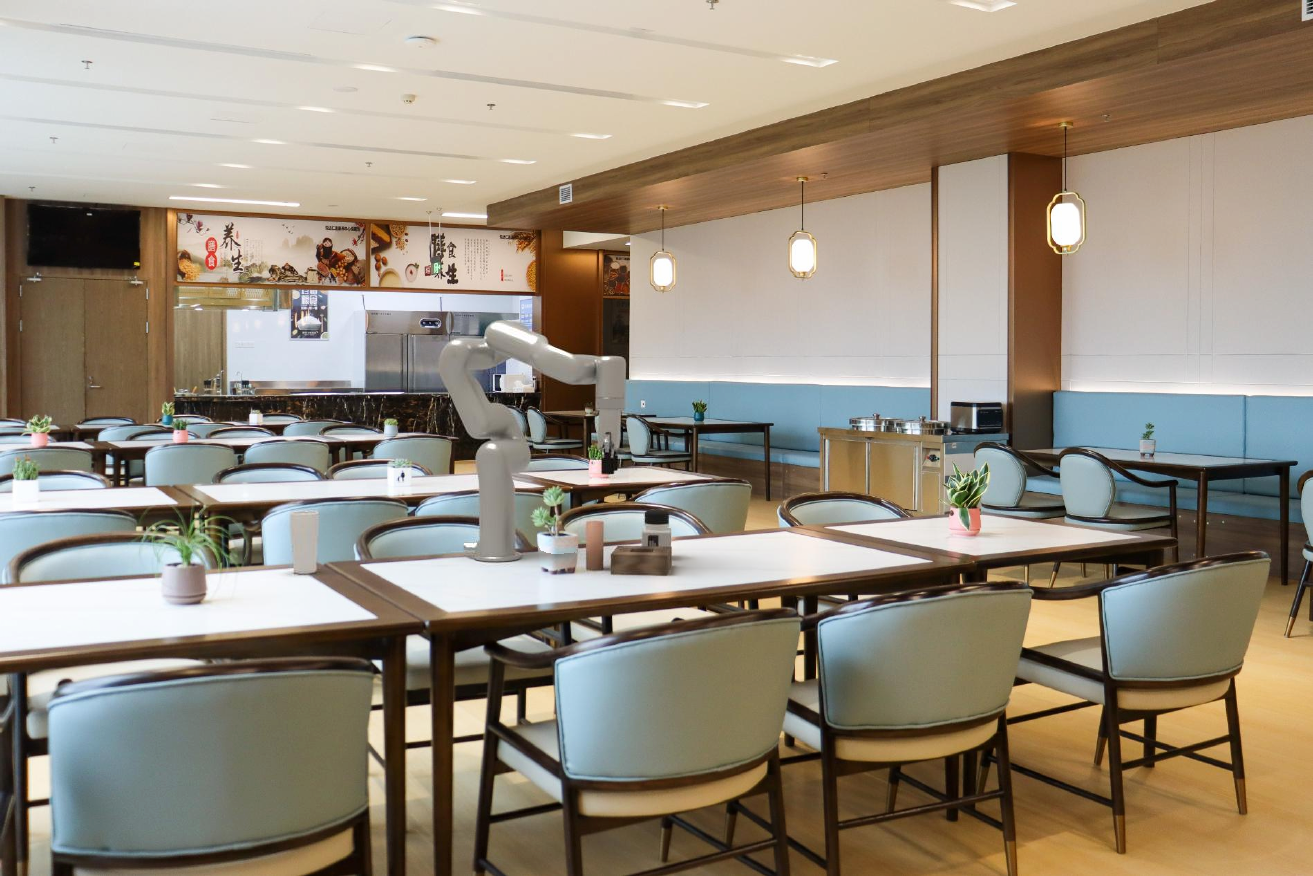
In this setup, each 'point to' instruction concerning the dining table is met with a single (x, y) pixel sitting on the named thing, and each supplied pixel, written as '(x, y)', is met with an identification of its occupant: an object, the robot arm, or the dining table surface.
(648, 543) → the container
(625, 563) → the socket block
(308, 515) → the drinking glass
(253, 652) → the dining table surface
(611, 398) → the robot arm
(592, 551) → the peg
